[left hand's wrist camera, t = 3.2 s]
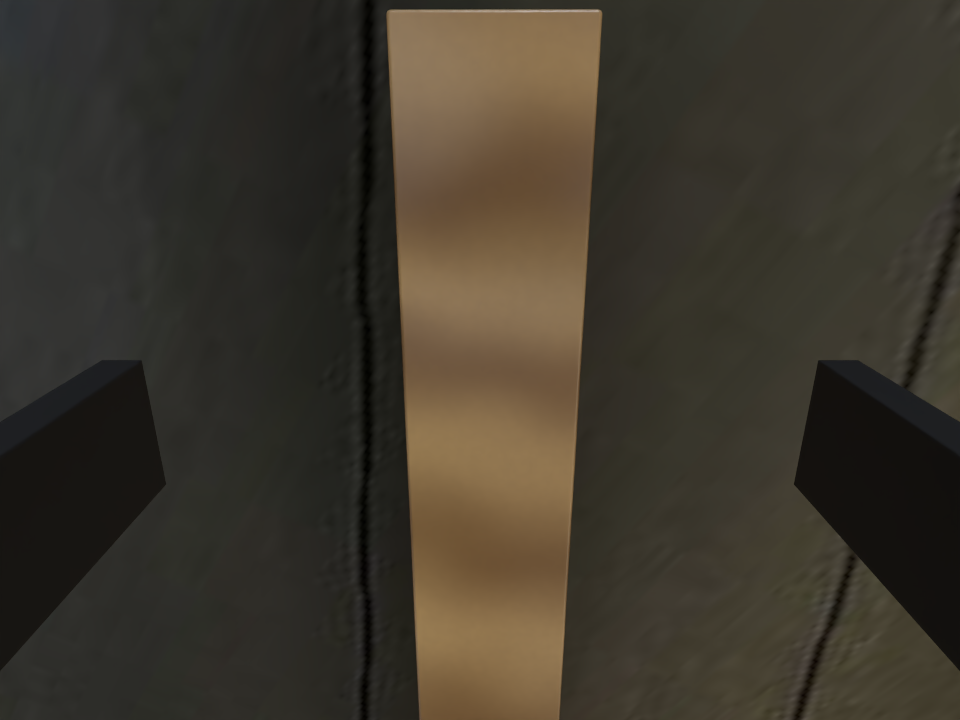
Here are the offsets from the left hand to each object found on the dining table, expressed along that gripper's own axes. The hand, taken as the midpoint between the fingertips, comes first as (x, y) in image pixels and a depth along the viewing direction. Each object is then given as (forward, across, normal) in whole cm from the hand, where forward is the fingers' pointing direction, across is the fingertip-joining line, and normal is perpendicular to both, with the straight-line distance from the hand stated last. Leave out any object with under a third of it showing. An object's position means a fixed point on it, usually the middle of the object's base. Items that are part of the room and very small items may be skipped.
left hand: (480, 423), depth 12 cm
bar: (+12, 0, -17) cm, 21 cm away
